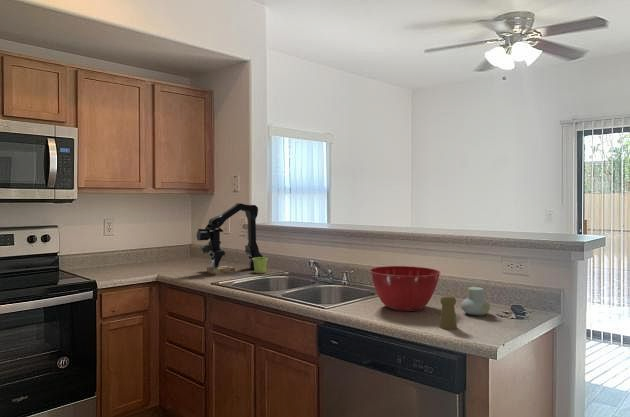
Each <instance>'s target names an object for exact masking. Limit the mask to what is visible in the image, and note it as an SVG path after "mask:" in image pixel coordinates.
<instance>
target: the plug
mask: <svg viewBox="0 0 630 417" xmlns="http://www.w3.org/2000/svg"><path fill="white" fill-rule="evenodd" d="M210 263H211V265H210V267H211V269H213V268H219V266H220V263H219V264H218V266H217V267H215V262H214V260H211V262H210Z"/></svg>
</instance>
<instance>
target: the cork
mask: <svg viewBox="0 0 630 417" xmlns="http://www.w3.org/2000/svg"><path fill="white" fill-rule="evenodd" d="M456 303H457V298H456V296H453V295H447V294H446V295H441V297H440V304H441V311H440V318H439V326H438V327H439V328H441V329H442V330H443V329H444V330H456V329H458V325H457V324H458V323H457V317H456V309H455V305H456Z"/></svg>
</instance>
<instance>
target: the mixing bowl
mask: <svg viewBox="0 0 630 417" xmlns="http://www.w3.org/2000/svg"><path fill="white" fill-rule="evenodd" d="M369 272H370V275H371V280H372V283H373V286H374V289H375V291H376V293H377V296H378V297H379V300H380V301H381V302H382V303H383V305H385V307H387V308H388V309H389V310H393V311H394V310H395V311H401V312H414V311H419V310H421V309H422V308H424V307H425V306H427V305H428V303H429V302H430V300H431V298H432V297H433V296H434V293H435V290H436V288H437V285H438V281H439V277H440V275H441V273H442V272H441V270H437V269H435V268H430V267H429V268H428V267H422V266H409V265H406V266H405V265H389V266H388V265H387V266H377V267H376V266H375V267H372V268H370V269H369Z"/></svg>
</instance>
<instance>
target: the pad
mask: <svg viewBox="0 0 630 417" xmlns="http://www.w3.org/2000/svg"><path fill="white" fill-rule="evenodd" d="M228 274H229V275H231V276H239V275H248V273H247V272H244V271H235V272H232V273H228Z"/></svg>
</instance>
